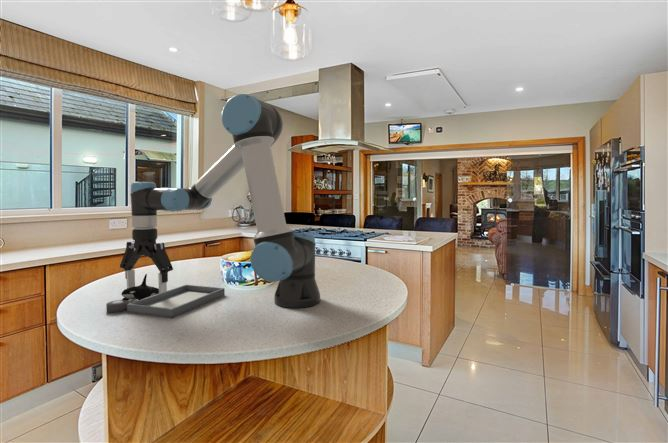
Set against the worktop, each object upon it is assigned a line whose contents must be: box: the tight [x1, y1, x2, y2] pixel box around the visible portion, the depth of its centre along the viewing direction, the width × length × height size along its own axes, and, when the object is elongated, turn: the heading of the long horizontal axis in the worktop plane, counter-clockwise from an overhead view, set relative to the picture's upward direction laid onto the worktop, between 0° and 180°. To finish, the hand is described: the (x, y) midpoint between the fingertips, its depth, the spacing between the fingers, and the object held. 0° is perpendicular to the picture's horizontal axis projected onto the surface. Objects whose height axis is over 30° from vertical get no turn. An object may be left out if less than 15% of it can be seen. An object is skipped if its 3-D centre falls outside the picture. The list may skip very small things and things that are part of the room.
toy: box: [120, 273, 159, 301], centre depth 123 cm, size 21×10×10 cm, turn 168°
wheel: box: [105, 299, 130, 314], centre depth 110 cm, size 6×6×3 cm
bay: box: [126, 284, 226, 319], centre depth 118 cm, size 16×25×2 cm, turn 162°
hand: (146, 290), depth 123 cm, fingers open, 13 cm apart
